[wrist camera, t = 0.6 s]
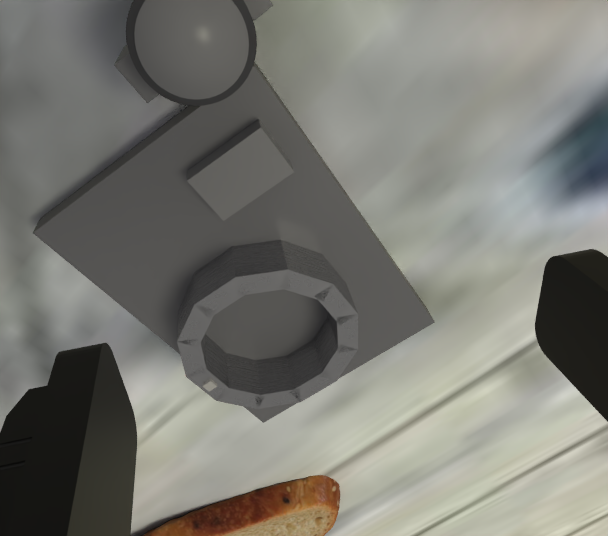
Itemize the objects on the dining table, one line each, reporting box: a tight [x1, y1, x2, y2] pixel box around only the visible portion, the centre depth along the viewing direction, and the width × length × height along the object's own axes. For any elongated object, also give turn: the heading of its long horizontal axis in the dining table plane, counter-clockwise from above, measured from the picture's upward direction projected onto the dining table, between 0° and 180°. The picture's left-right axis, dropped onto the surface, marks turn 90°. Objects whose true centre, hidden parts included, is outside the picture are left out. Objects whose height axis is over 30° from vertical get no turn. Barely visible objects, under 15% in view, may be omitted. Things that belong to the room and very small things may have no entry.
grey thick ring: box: [177, 240, 358, 409], centre depth 31 cm, size 10×10×3 cm
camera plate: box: [33, 62, 434, 423], centre depth 31 cm, size 14×20×3 cm
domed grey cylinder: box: [115, 0, 273, 106], centre depth 22 cm, size 6×5×6 cm
